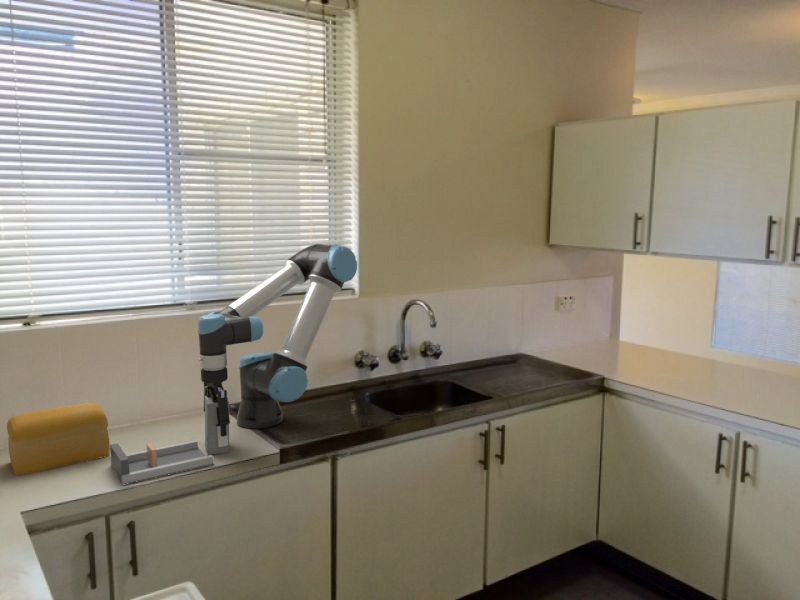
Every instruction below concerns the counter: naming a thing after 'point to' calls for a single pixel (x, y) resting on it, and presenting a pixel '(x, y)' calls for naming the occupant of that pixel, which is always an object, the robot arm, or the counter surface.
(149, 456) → the block
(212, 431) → the skincare box
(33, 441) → the bread
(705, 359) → the counter surface
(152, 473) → the lane
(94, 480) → the counter surface
